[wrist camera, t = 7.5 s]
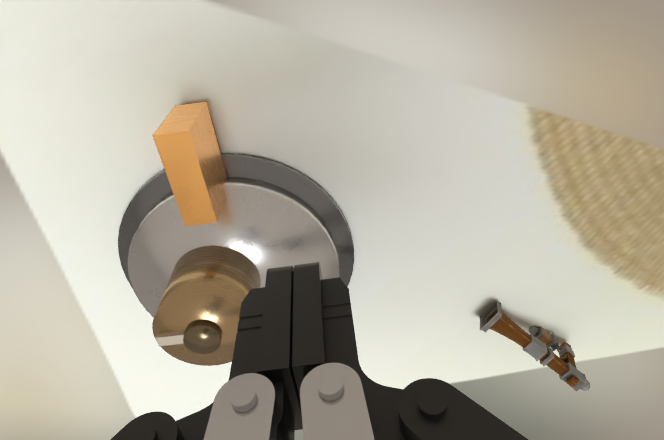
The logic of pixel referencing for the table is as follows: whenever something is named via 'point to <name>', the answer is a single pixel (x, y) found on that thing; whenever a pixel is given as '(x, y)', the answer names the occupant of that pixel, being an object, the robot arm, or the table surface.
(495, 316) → the toy blunderbuss
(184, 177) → the silver disc with handle
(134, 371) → the table surface
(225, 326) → the cover
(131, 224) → the base plate
